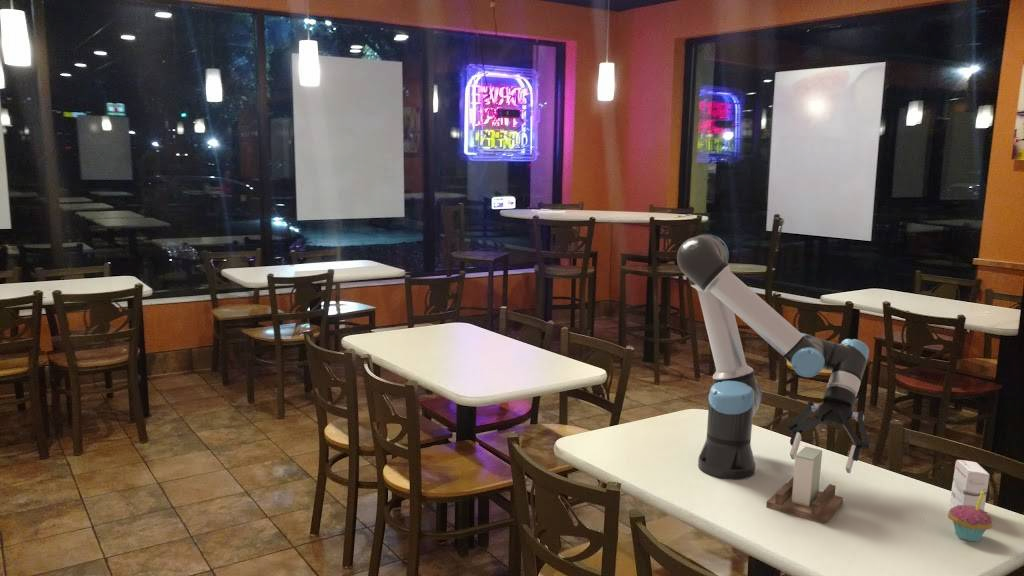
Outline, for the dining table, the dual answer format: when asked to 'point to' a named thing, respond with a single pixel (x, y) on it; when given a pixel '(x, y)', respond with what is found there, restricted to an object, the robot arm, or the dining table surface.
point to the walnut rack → (816, 511)
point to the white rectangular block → (968, 484)
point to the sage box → (806, 476)
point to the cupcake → (970, 520)
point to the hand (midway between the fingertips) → (819, 463)
